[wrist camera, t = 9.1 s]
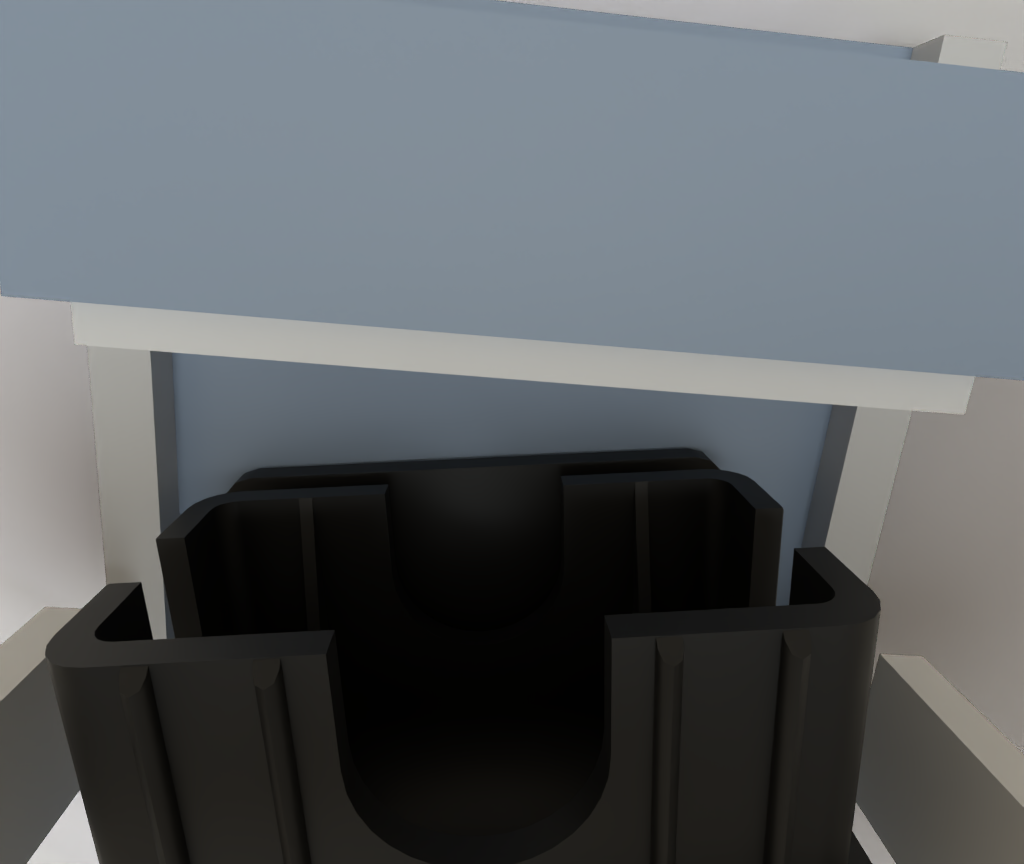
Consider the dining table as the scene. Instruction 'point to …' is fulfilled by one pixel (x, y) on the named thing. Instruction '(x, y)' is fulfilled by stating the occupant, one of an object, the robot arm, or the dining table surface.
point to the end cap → (476, 673)
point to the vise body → (506, 243)
